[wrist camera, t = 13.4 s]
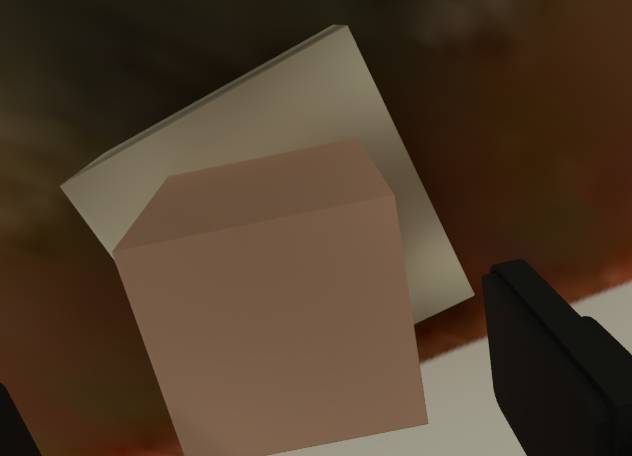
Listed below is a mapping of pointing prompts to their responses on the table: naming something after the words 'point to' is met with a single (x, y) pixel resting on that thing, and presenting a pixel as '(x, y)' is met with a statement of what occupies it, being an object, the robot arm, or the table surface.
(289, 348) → the terracotta block
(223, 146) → the ash base block
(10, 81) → the table surface
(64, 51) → the table surface
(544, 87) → the table surface
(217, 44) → the table surface
